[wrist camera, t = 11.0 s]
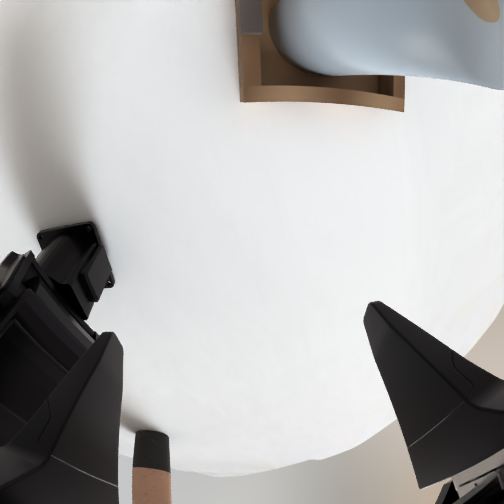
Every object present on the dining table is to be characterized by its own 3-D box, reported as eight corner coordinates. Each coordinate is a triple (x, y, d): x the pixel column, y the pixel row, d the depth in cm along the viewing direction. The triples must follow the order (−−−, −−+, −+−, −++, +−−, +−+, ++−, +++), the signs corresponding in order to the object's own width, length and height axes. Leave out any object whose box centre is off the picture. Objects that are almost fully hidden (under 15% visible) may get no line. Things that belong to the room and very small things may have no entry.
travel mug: (177, 439, 45) (181, 522, 29) (151, 442, 47) (152, 518, 30) (152, 428, 41) (152, 519, 25) (127, 431, 42) (124, 514, 26)
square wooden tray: (239, 101, 16) (244, 102, 13) (232, -32, 10) (236, -54, 7) (384, 108, 17) (411, 114, 14) (377, -11, 11) (403, -21, 8)
